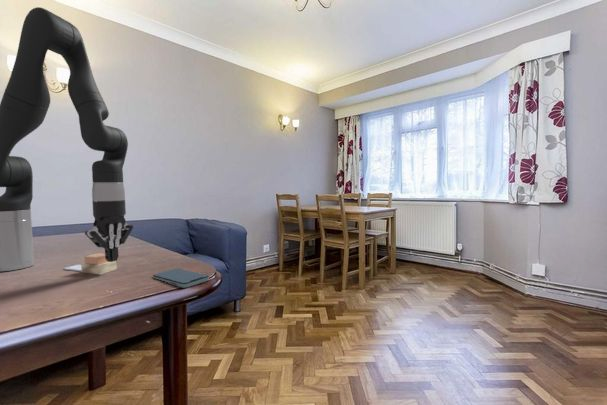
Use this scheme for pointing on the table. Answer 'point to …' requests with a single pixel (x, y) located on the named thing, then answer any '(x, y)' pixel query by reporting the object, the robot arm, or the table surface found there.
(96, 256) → the tile
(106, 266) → the deck
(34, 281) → the table surface
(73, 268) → the mat
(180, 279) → the smartphone
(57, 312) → the table surface
